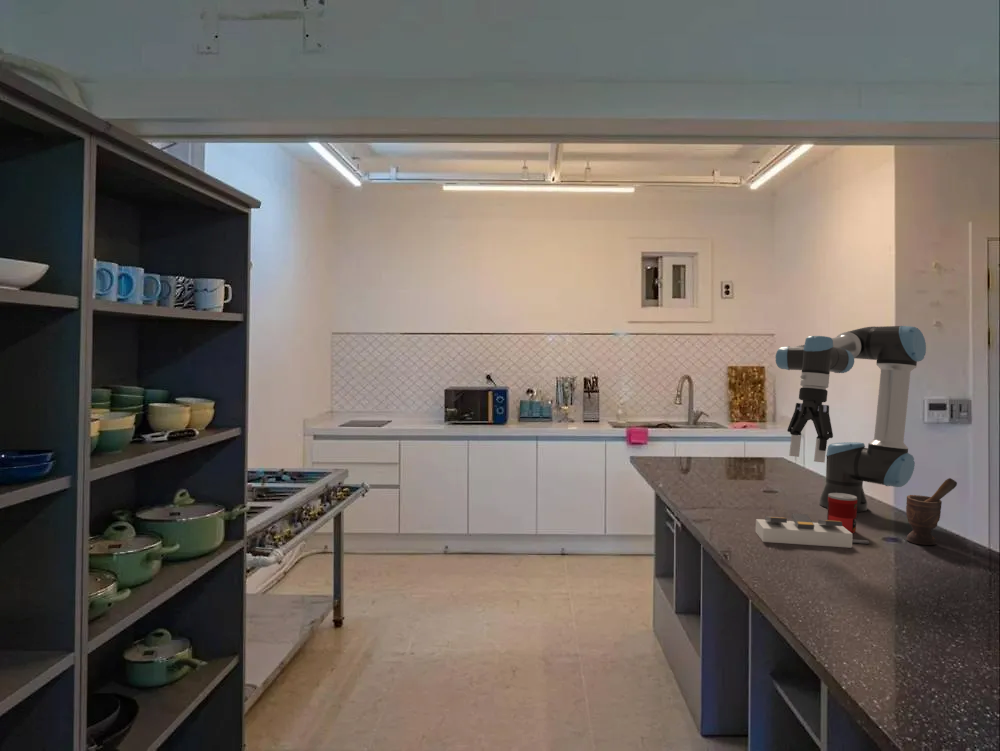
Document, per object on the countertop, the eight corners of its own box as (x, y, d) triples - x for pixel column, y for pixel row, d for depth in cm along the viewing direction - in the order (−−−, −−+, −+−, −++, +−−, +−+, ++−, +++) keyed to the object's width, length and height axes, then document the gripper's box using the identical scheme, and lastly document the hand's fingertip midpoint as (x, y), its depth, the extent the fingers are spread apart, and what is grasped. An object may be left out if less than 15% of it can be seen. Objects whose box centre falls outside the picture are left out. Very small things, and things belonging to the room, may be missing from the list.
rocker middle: (807, 517, 191) (807, 513, 190) (813, 529, 184) (814, 525, 184) (791, 517, 192) (791, 512, 191) (797, 528, 185) (798, 524, 185)
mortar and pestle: (945, 540, 189) (948, 474, 188) (956, 549, 181) (960, 480, 180) (900, 536, 192) (904, 471, 191) (909, 545, 184) (913, 477, 183)
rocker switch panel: (861, 538, 190) (862, 525, 189) (874, 549, 180) (875, 535, 180) (755, 531, 195) (755, 518, 195) (762, 541, 185) (763, 528, 185)
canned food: (859, 535, 194) (861, 499, 193) (831, 533, 195) (832, 497, 195) (850, 527, 201) (852, 493, 200) (823, 526, 203) (825, 491, 202)
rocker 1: (780, 521, 192) (780, 516, 192) (786, 522, 185) (786, 518, 185) (765, 520, 193) (765, 515, 193) (770, 521, 186) (770, 517, 186)
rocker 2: (834, 524, 189) (833, 520, 189) (842, 526, 182) (842, 521, 183) (818, 523, 190) (818, 519, 190) (825, 525, 183) (825, 520, 183)
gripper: (780, 386, 201) (773, 452, 201) (825, 387, 176) (817, 463, 176) (803, 388, 202) (796, 455, 201) (851, 390, 177) (843, 465, 176)
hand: (806, 459), depth 189 cm, fingers open, 13 cm apart
